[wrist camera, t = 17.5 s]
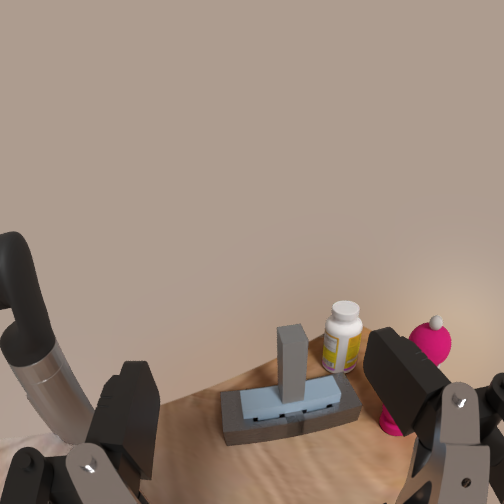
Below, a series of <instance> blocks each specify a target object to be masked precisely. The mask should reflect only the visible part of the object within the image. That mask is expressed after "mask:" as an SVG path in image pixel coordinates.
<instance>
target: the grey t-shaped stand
mask: <svg viewBox="0 0 504 504" xmlns="http://www.w3.org/2000/svg"><path fill="white" fill-rule="evenodd" d="M277 354H278V355H277V358H278V386H274V387H267V388H259V389H251V390H243V391H240V395H241V403H242V411H243V417H244V419H250V418H257V421H265V420H272V419H278V418H279V414H284V413H290V412H296V411H301V410H302V412H303V414H304V413H309V412H313V411H318V410H322V409H326V406H327V405H328V404H332V403H336V402H340V397H341V391H340V389H339V387H338V385H337V384H336V382H335V380H334V378H333V376H328V377H323V378H318V379H313V380H308V381H306V370H307V355H308V338H307V336H306V334H305V332H304V330H303V328H302V326H301V324H296V325H289V326H282V327H277Z"/></svg>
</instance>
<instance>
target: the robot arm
mask: <svg viewBox="0 0 504 504" xmlns="http://www.w3.org/2000/svg"><path fill="white" fill-rule="evenodd" d="M7 308H12V311H13V314H14V318H15V321H14V322H13V323H12V324H11V325H10V326H8V327H7V329H6V330H5V331H4V332H3V334H2V336H1V338H0V348H1V350H2V353H3V355H4V356H5V358H6V360H7V362H8V364H9V365H10V367H11V369H12V371H13V372H14V374H15V376H16V377H17V379H18V381H19V382H20V384H21V385H22V387H23V388H24V390H25V392H26V393H27V399H28V400H29V401H30V403H31V404H32V406H33V407H34V409H35V410H36V411H37V413H38V414H39V415H40V417H41V418H42V419H43V421H44V422H45V423H46V424H47V425H48V427H49V428H50V429H51V431H52V432H53V433H54V434H57V435H58V436H59V437H60V438H61V439H62V440H63V441H64V442H66V443H69V444H75V445H77V446H75V447H73V448H72V449H71V450H70V451H69V453H68V455H66V456H55V457H44V456H43V455H42V454H41V453H40V452H39V451H38V450H37V449H35V448H32V447H24V448H21V449H20V450H18V451H17V452H16V453H15V455H14V456H13V459H12V462H11V465H10V468H9V471H8V474H7V478H6V481H5V485H4V488H3V492H2V496H1V500H0V504H151V503H150V502H149V500H148V499H147V498H146V496H145V495H144V494H143V493H142V491H141V490H140V489H139V487H140V479H144V480H151V477H152V466H153V457H154V448H155V439H156V432H157V424H158V417H159V410H160V396H159V391H158V389H157V386H156V384H155V381H154V379H153V376H152V373H151V371H150V368H149V365H148V363H147V362H146V361H125V362H124V364H123V367H122V369H121V372H120V375H113V376H112V377H111V378H110V379H109V380H108V382H106V384H105V385H104V388H103V390H102V393H101V395H100V396H101V398H100V399H99V401H98V404H97V407H96V410H94V409H93V407H92V405H91V404H90V402H89V400H88V399H87V397H86V395H85V394H84V392H83V390H82V389H81V387H80V385H79V383H78V382H77V380H76V378H75V376H74V374H73V372H72V370H71V368H70V366H69V364H68V363H67V360H66V358H65V356H64V354H63V352H62V350H61V348H60V346H59V344H58V342H57V340H56V337H55V335H54V333H53V330H52V328H51V324H50V320H49V316H48V312H47V309H46V306H45V303H44V301H43V297H42V294H41V290H40V287H39V283H38V279H37V275H36V271H35V267H34V263H33V259H32V255H31V252H30V249H29V247H28V244H27V242H26V241H25V239H24V238H23V236H22V235H21V234H20V233H18V232H7V233H4V234H0V310H2V309H7ZM363 369H364V373H365V375H366V377H367V379H368V381H369V382H370V384H371V385H372V387H373V388H374V390H375V391H376V393H377V395H378V396H379V398H380V399H381V401H382V402H383V404H384V406H385V407H386V409H387V410H388V412H389V413H390V415H391V417H392V418H393V420H394V421H395V423H396V425H397V426H398V428H399V429H400V431H401V433H402V434H403V436H404V437H405V436H407V435H409V434H411V433H413V432H415V433H416V435H417V437H416V439H415V443H414V448H413V453H412V458H411V463H410V467H409V471H408V475H407V479H406V482H405V485H404V487H403V488H402V490H401V492H400V494H399V496H398V498H397V500H396V503H395V504H486V503H487V495H488V486H489V483H490V485H491V487H492V488H493V490H494V492H495V494H496V496H497V498H498V499H499V501H500V503H501V504H504V436H503V435H502V433H501V432H500V430H499V429H498V428H497V425H498V424H499V423H500V421H501V420H503V421H504V373H499V374H497V375H495V376H494V378H493V380H492V382H491V383H490V385H489V386H486V387H482V388H477V389H473V388H472V387H471V386H469V385H468V384H466V383H462V382H455V383H451V382H450V381H449V380H448V378H447V377H446V376H445V375H444V374H443V373H442V372H441V371H440V370H439V368H438V367H437V366H436V365H435V364H434V363H433V362H432V361H431V360H430V359H428V357H427V356H426V354H425V353H424V352H422V350H421V349H420V348H419V347H418V346H417V345H416V344H415V343H414V342H413V341H411V340H409V339H407V338H405V337H403V336H402V337H400V336H399V335H398V334H397V333H396V332H395V331H394V330H393V329H392V328H391V327H386V328H382V329H378V330H374V331H371V332H370V334H369V338H368V343H367V348H366V352H365V357H364V362H363ZM78 444H79V445H78ZM48 501H49V502H48ZM384 504H387V503H384Z"/></svg>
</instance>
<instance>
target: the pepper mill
mask: <svg viewBox="0 0 504 504" xmlns="http://www.w3.org/2000/svg"><path fill="white" fill-rule="evenodd" d="M442 325H443V320H442V318H441V317H440V316H433V317H432V318H431V319H430V322H429V323H424V324H421V325H419V326H418V327H416V328H415V329H414V330H413V331H412V333H411V334H410V336H409V340H411V341H413V342H414V343H415V344H416V345H417V346H418V347H419V348H420V349H421V350H422V352H424V353H425V354H426V356H427V357H428V359H430V360H431V361H432V362H433V363H434V364H435V365H436V366H437V367H438V368H439V367H440V365H441V363H442V362H443V361H444V360H445V359H446V358H447V356H448V354H449V352H450V349H451V337H450V334H449V332H448V331H447V329H446V328H444V327H443V326H442ZM379 422H380V426H381V428H382V429H383V430H384V431H385V432H386V433H388V434H390V435H393V436H402V435H403V434H402V433H401V431H400V429H399V428H398V426H397V425H396V423H395V421H394V420H393V418H392V417H391V415H390V413H389V412H388V410H387V409H386V407H385V406H384V404H383V411H382V414H381V416H380V420H379Z"/></svg>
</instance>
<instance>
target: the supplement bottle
mask: <svg viewBox="0 0 504 504" xmlns="http://www.w3.org/2000/svg"><path fill="white" fill-rule="evenodd" d="M358 315H359V306H358V305H357V304H356V303H354V302H351V301H338V302H336V303H334V304H333V306H332V315H331V316H330V317H329V318H328V319H327V321H326V324H325V334H324V345H323V356H322V364H323V366H324V368H325V369H326V370H327V371H329V372H331V373H334V374H335V373H339V372H344V373H348V372H350V371H351V370H353V369H354V367H355V365H356V361H357V356H358V351H359V346H360V340H361V334H362V326H363V325H362V321H361V320H360V318H359V317H358Z"/></svg>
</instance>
